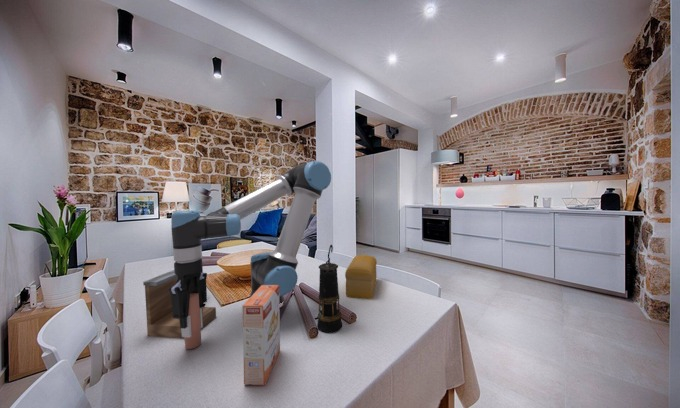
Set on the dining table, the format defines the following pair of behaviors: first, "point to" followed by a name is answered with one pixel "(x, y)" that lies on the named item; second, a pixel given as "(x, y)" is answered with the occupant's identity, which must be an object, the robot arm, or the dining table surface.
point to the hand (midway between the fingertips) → (192, 331)
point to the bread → (361, 277)
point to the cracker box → (261, 334)
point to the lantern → (329, 298)
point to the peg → (194, 322)
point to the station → (166, 307)
